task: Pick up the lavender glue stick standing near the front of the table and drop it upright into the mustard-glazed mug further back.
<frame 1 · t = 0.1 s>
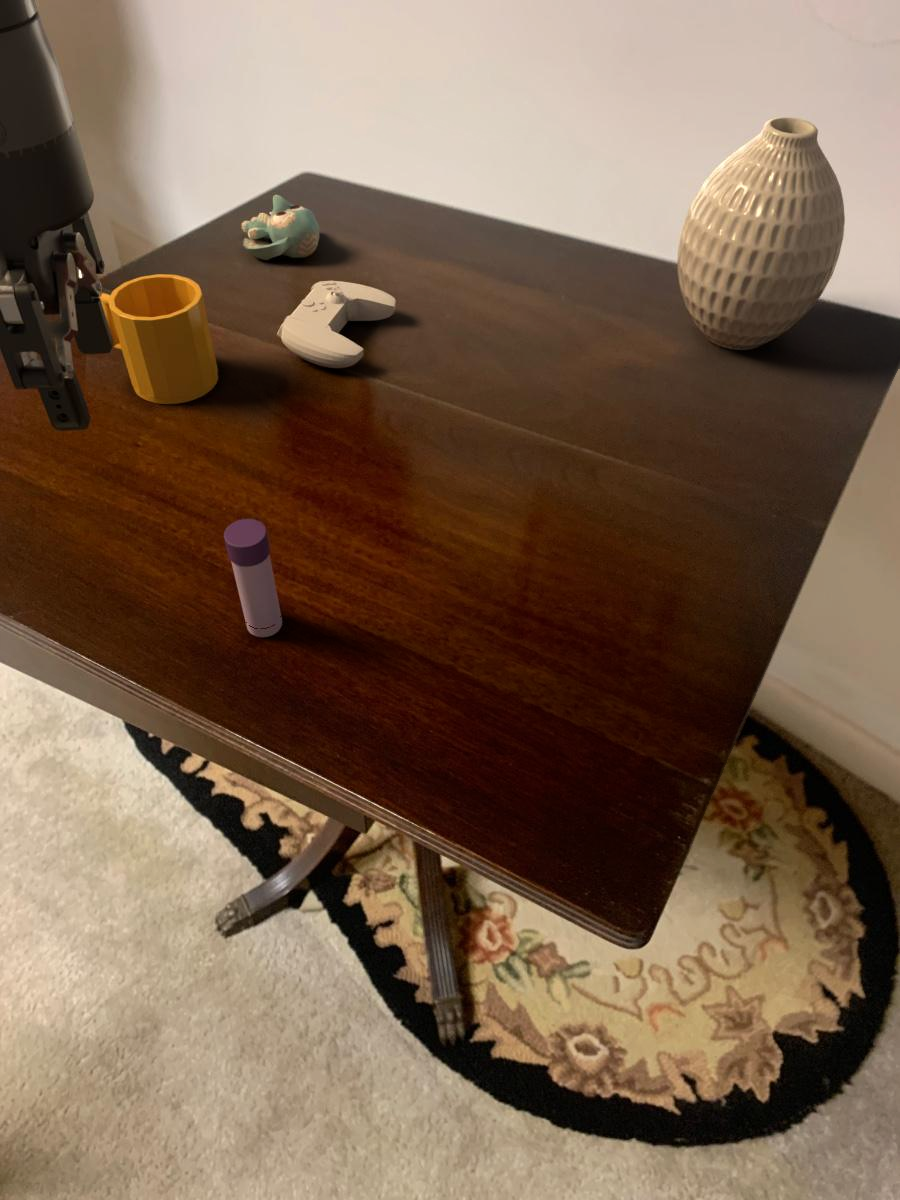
hand: (86, 387, 57), 20 cm above the table, tool pointing down, fingers open, 8 cm apart
glue stick: (264, 624, 71), on the table
green dragon head figurine: (282, 249, 114), on the table
game controller: (337, 340, 99), on the table
vase: (732, 335, 101), on the table
mug: (176, 379, 93), on the table
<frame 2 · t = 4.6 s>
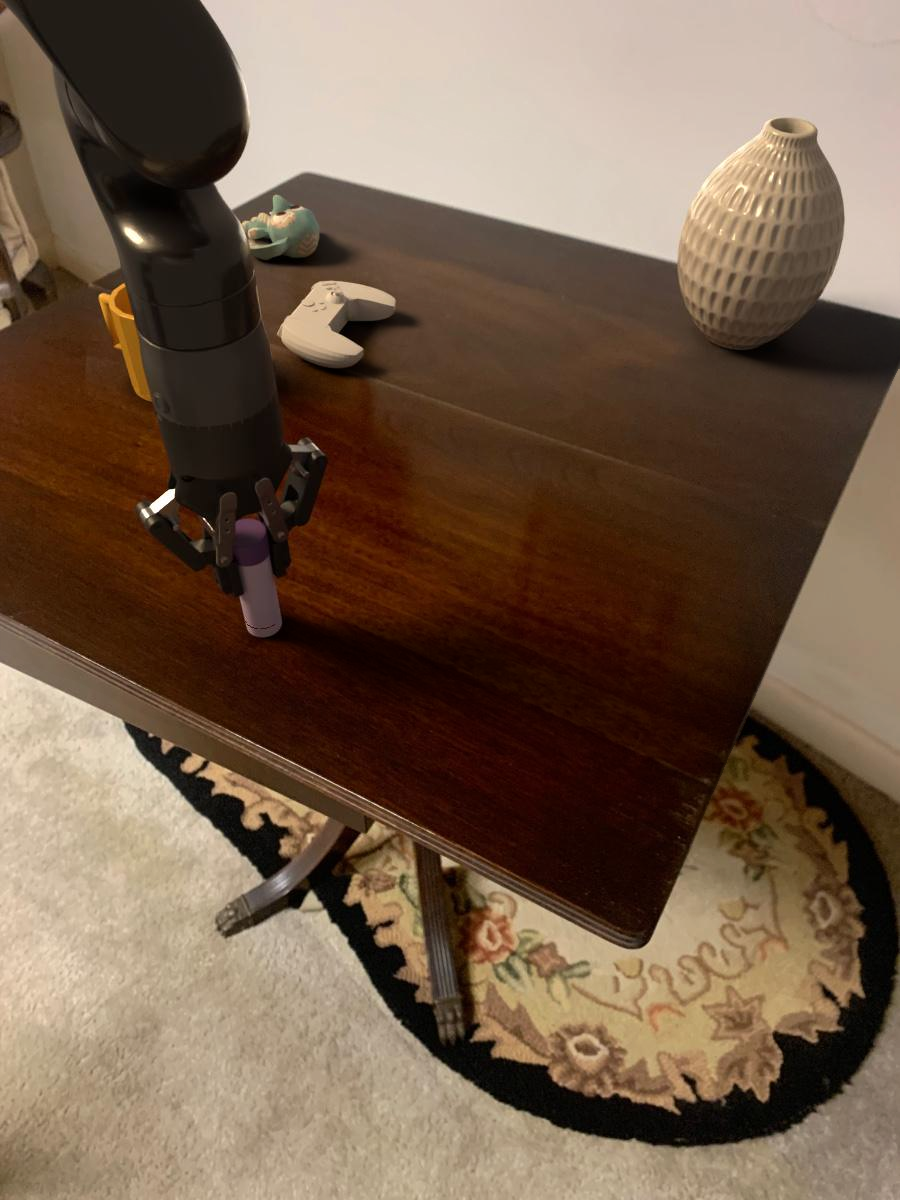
hand: (254, 579, 67), 5 cm above the table, tool pointing down, fingers closed on glue stick, 3 cm apart
glue stick: (264, 624, 71), on the table, touching gripper
everything else where it was.
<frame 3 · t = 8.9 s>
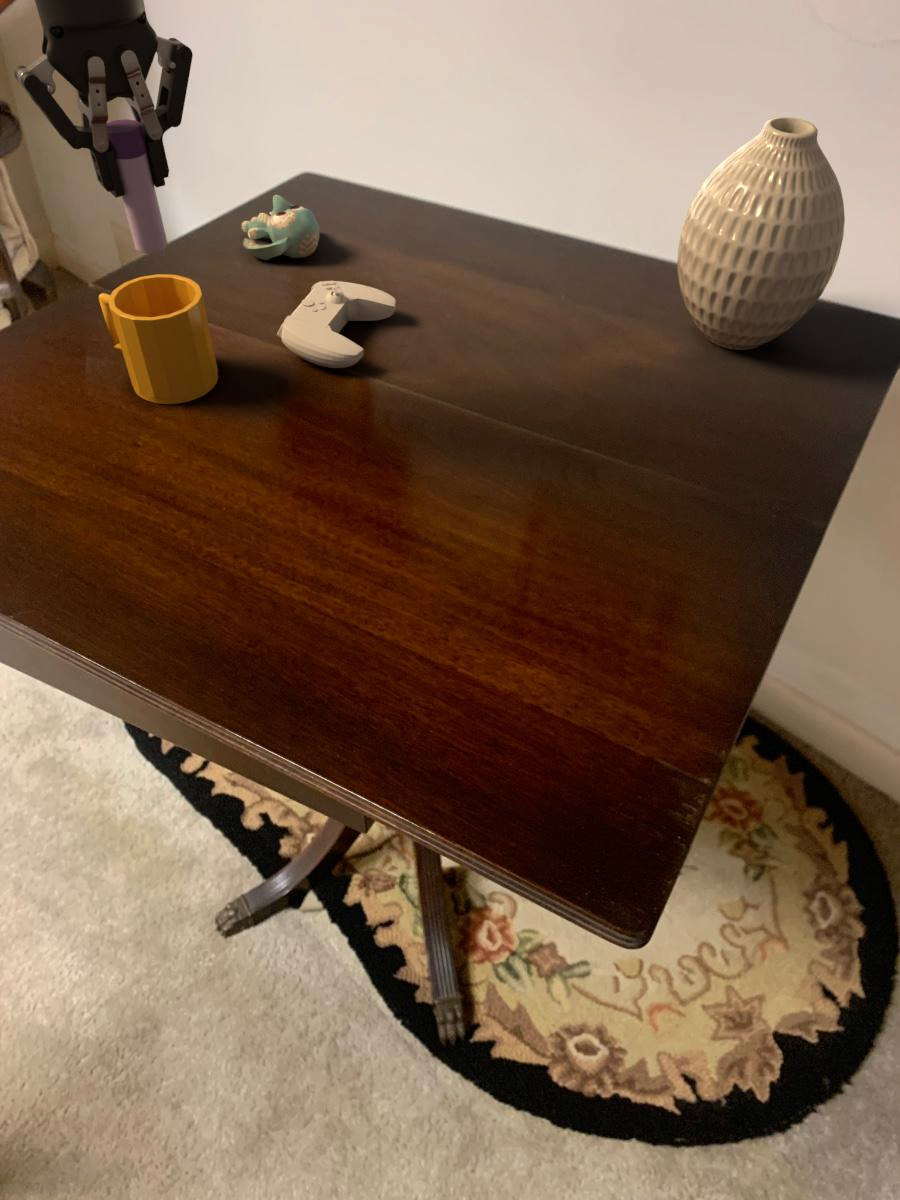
hand: (136, 187, 75), 22 cm above the table, tool pointing down, fingers closed on glue stick, 3 cm apart
glue stick: (151, 246, 79), point 16 cm above the table, touching gripper
everything else where it was.
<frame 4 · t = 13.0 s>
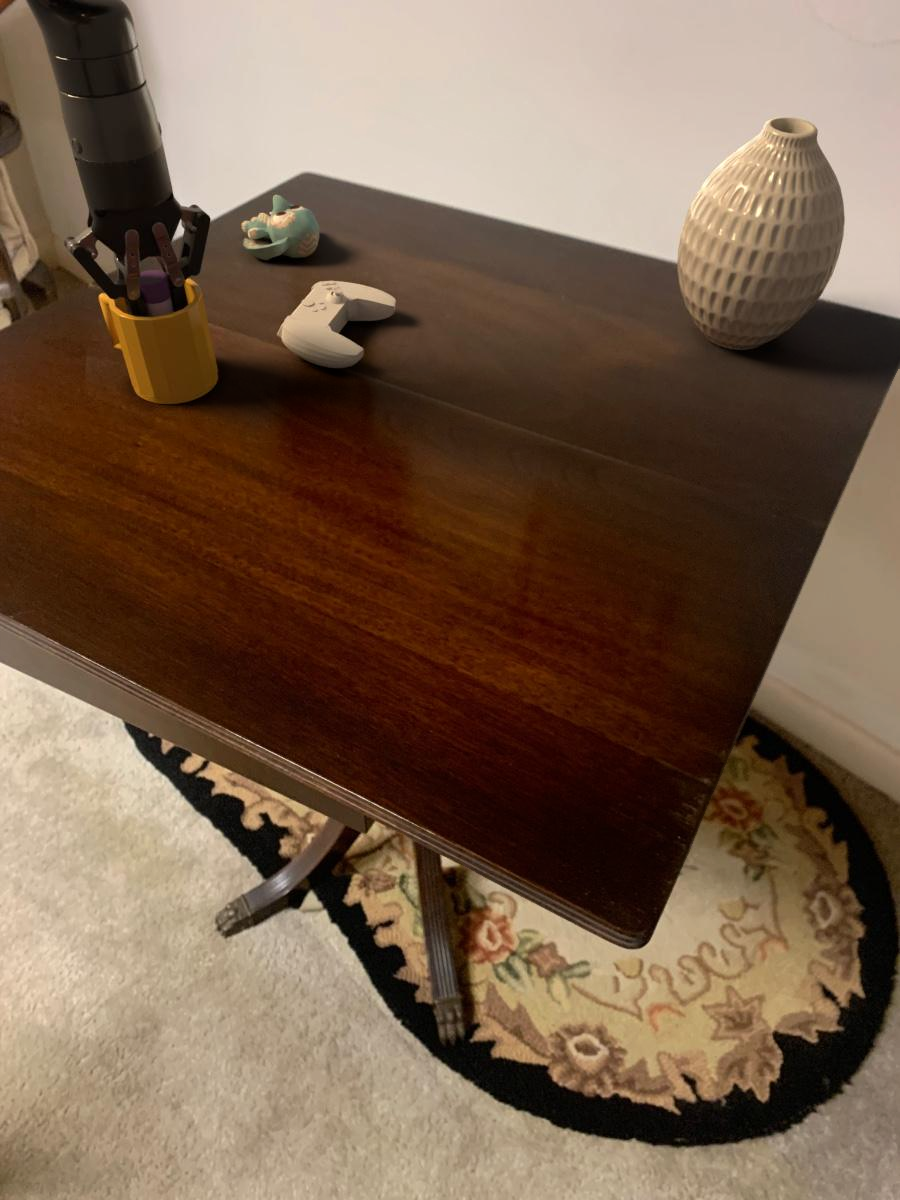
hand: (161, 322, 88), 7 cm above the table, tool pointing down, fingers closed on glue stick, 3 cm apart
glue stick: (173, 367, 92), point 1 cm above the table, touching gripper
everything else where it was.
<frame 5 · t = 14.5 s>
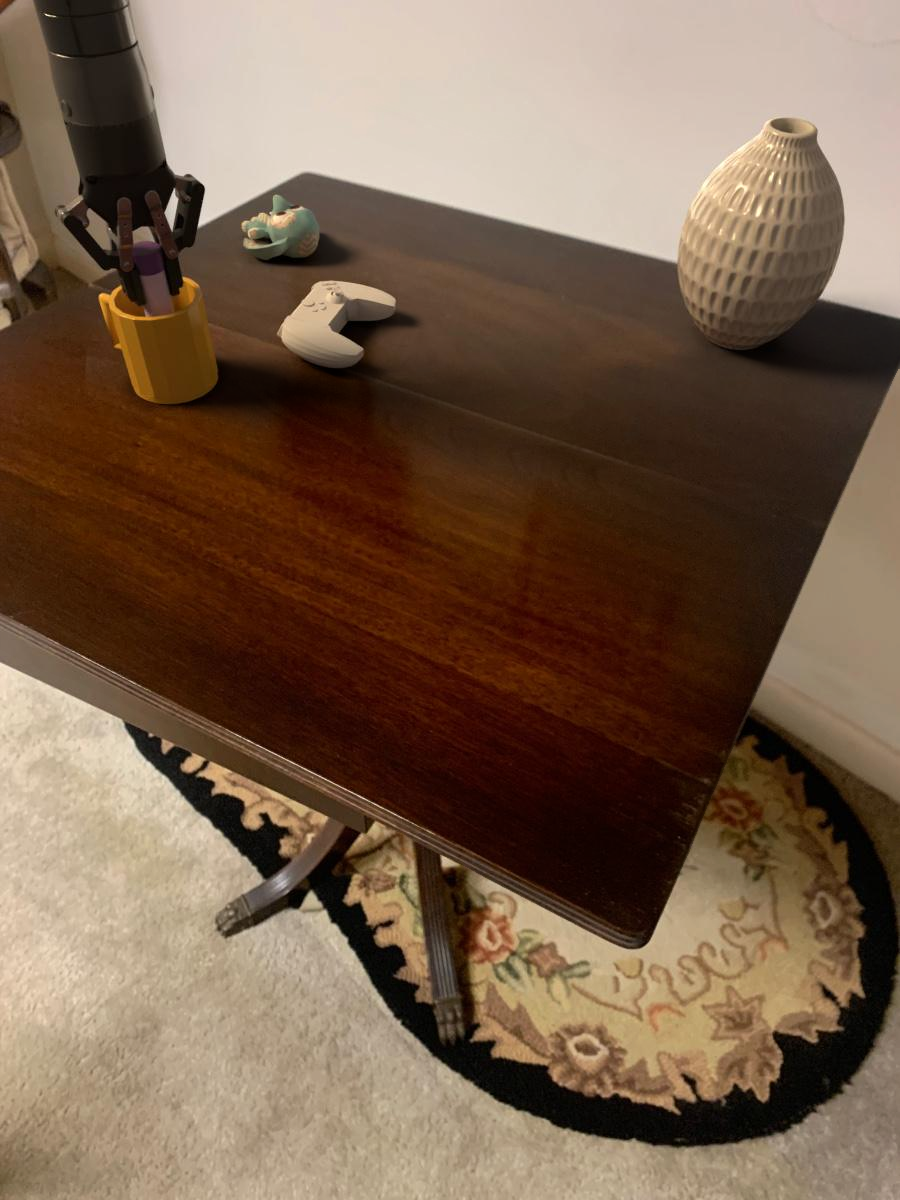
hand: (155, 296, 86), 9 cm above the table, tool pointing down, fingers closed on glue stick, 3 cm apart
glue stick: (167, 343, 90), point 4 cm above the table, touching gripper
everything else where it was.
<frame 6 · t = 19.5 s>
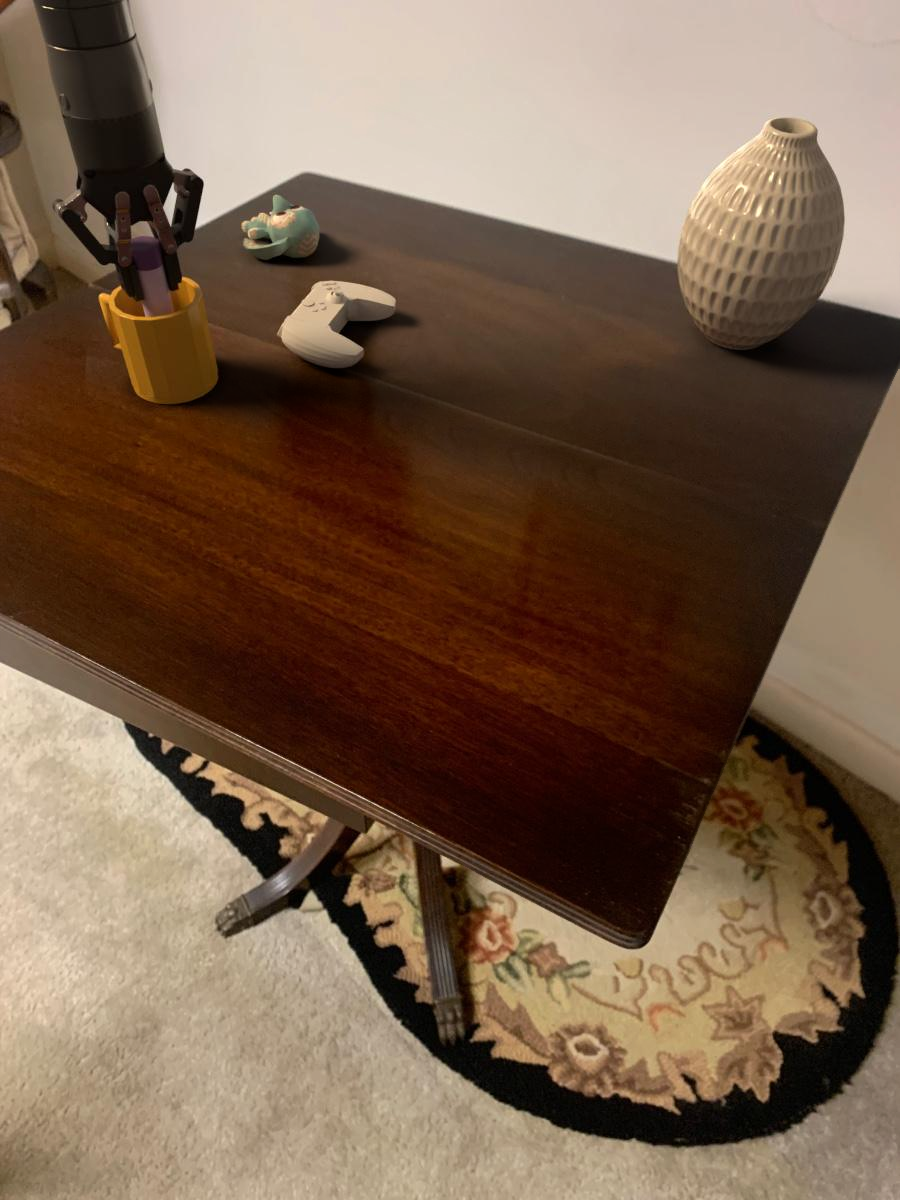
hand: (154, 291, 86), 10 cm above the table, tool pointing down, fingers closed on glue stick, 3 cm apart
glue stick: (166, 339, 90), point 5 cm above the table, touching gripper
everything else where it was.
when the fingers open (10 cm above the table, at t = 24.4 s): glue stick drops 4 cm, resting on mug.
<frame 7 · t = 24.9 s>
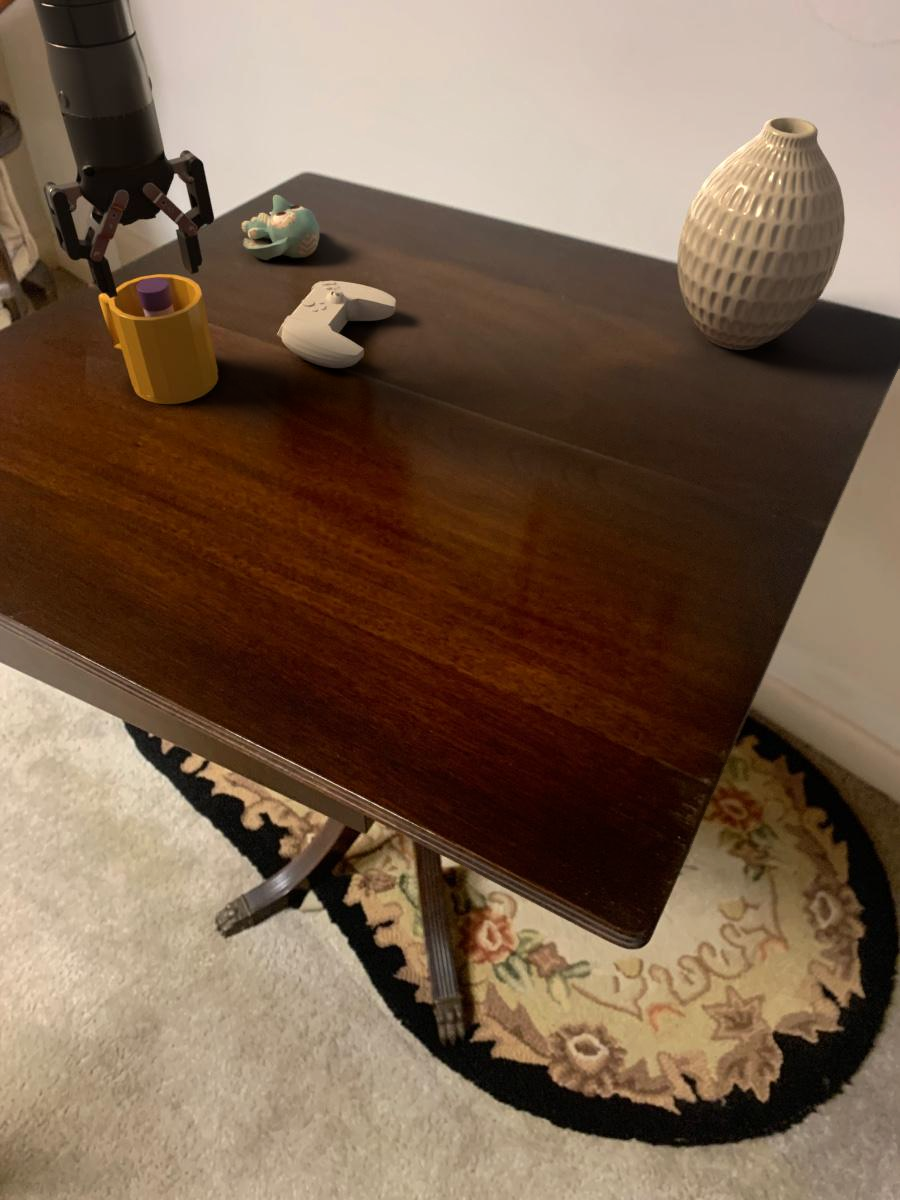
hand: (151, 281, 85), 11 cm above the table, tool pointing down, fingers open, 7 cm apart
glue stick: (174, 374, 93), point 1 cm above the table, touching mug
mug: (176, 379, 93), on the table, touching glue stick
everything else where it was.
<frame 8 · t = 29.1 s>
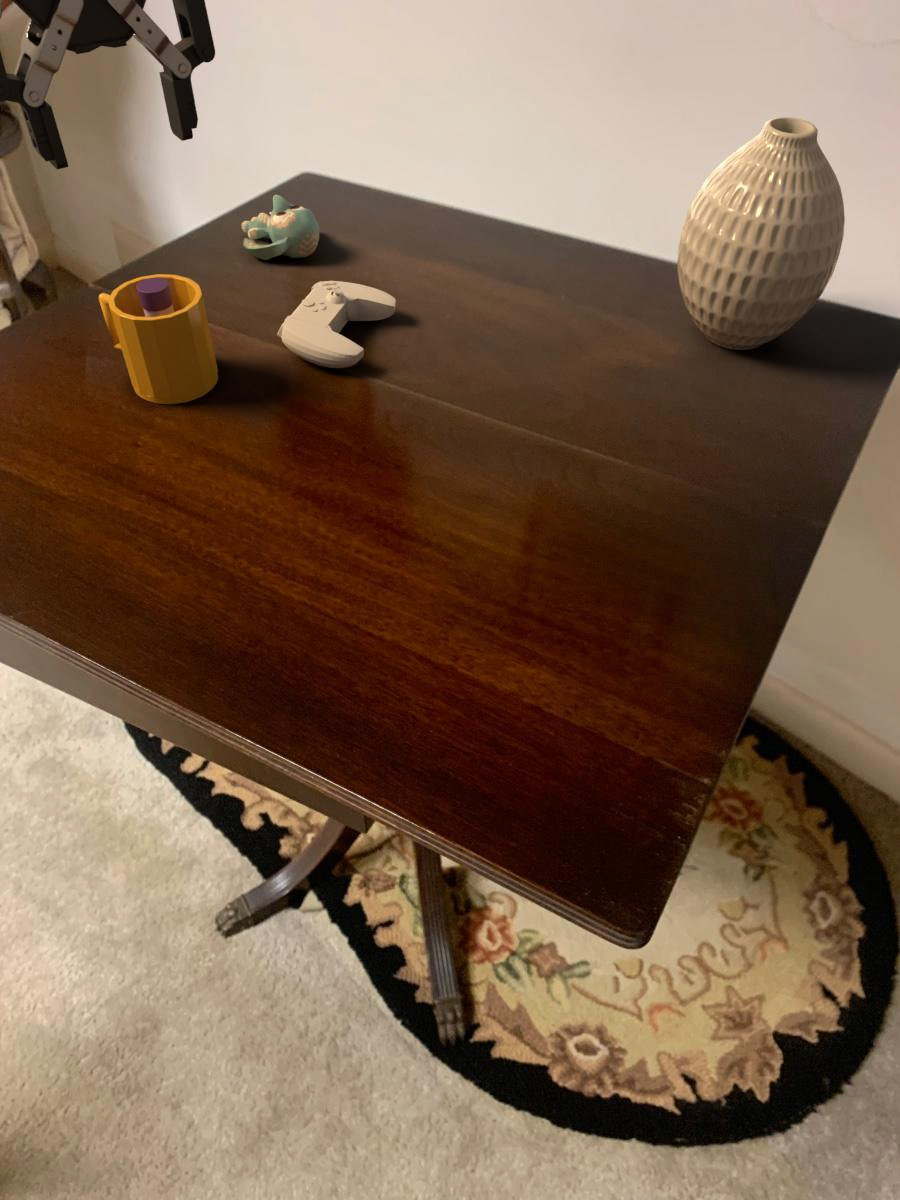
hand: (122, 150, 59), 30 cm above the table, tool pointing down, fingers open, 8 cm apart
nothing on the table moved.
at the end: glue stick inside the target area in the mug (0.0 cm from its centre), point 0.7 cm above the mug's base; the gripper is holding nothing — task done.
